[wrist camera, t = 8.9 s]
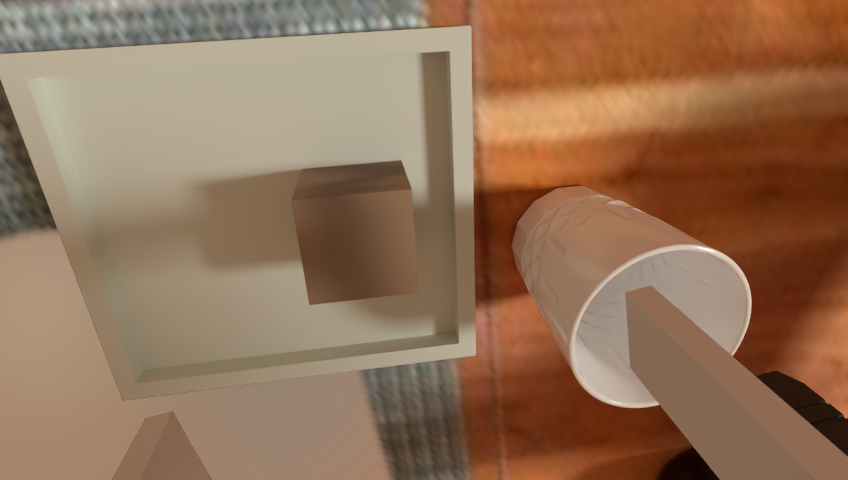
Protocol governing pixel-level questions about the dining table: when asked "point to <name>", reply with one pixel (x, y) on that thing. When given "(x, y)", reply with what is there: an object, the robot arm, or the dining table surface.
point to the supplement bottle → (688, 468)
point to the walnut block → (356, 231)
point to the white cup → (619, 283)
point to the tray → (249, 197)
